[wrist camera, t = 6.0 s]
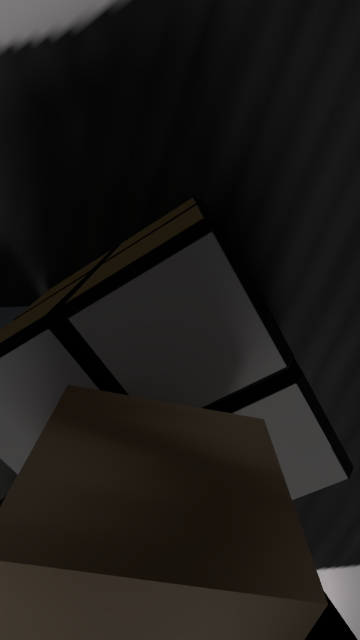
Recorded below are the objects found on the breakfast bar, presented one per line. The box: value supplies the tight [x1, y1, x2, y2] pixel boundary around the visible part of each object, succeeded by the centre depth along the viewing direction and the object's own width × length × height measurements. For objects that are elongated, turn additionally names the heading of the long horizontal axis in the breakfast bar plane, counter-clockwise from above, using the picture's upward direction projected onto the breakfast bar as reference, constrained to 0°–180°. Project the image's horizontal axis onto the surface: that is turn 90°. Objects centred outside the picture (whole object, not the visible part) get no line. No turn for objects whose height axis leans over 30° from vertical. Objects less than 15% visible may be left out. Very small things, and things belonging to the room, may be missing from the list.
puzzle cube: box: [0, 198, 354, 501], centre depth 15 cm, size 10×10×10 cm
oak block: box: [0, 385, 328, 640], centre depth 7 cm, size 5×5×4 cm
